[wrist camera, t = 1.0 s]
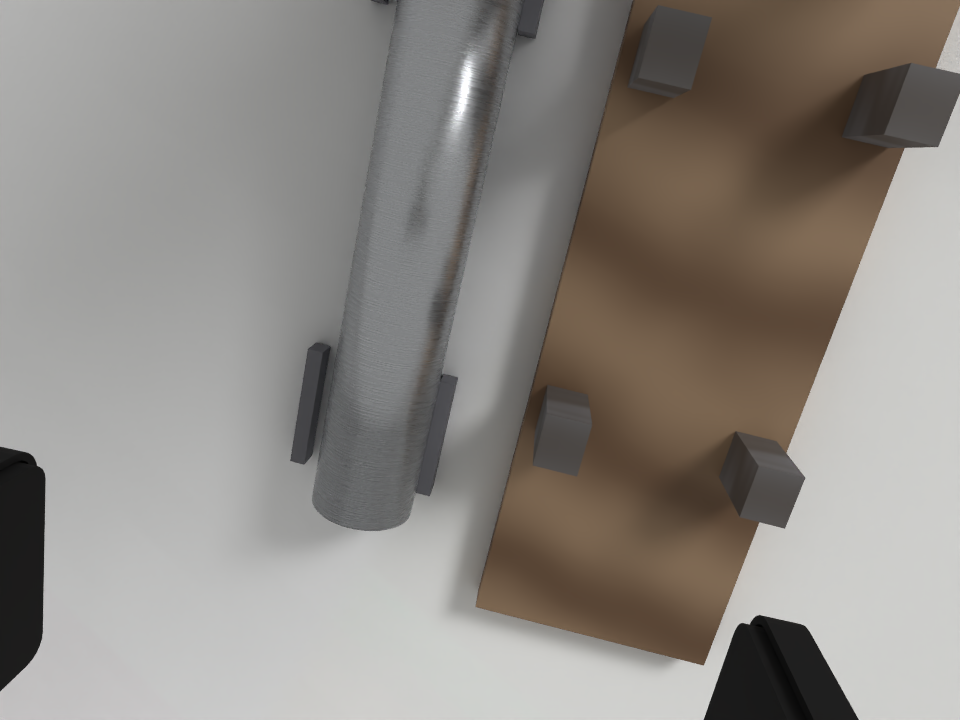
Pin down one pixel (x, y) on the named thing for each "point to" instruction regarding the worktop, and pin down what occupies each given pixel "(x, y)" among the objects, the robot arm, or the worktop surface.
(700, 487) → the brown board
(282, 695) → the worktop surface
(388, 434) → the tube
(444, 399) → the set of grey slats
